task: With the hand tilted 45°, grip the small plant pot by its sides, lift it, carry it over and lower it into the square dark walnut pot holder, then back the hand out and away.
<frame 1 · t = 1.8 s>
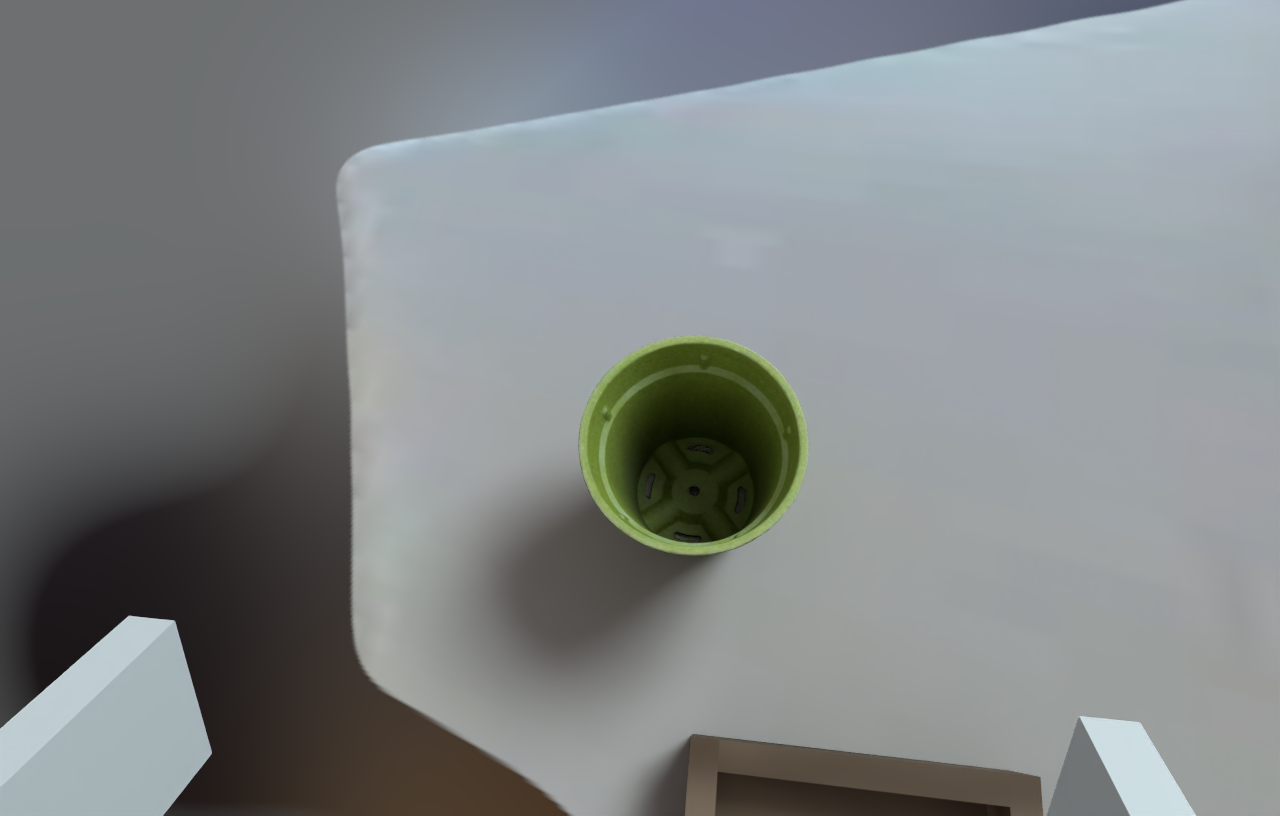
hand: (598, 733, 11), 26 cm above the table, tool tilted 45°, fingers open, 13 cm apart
plant pot: (696, 495, 40), on the table
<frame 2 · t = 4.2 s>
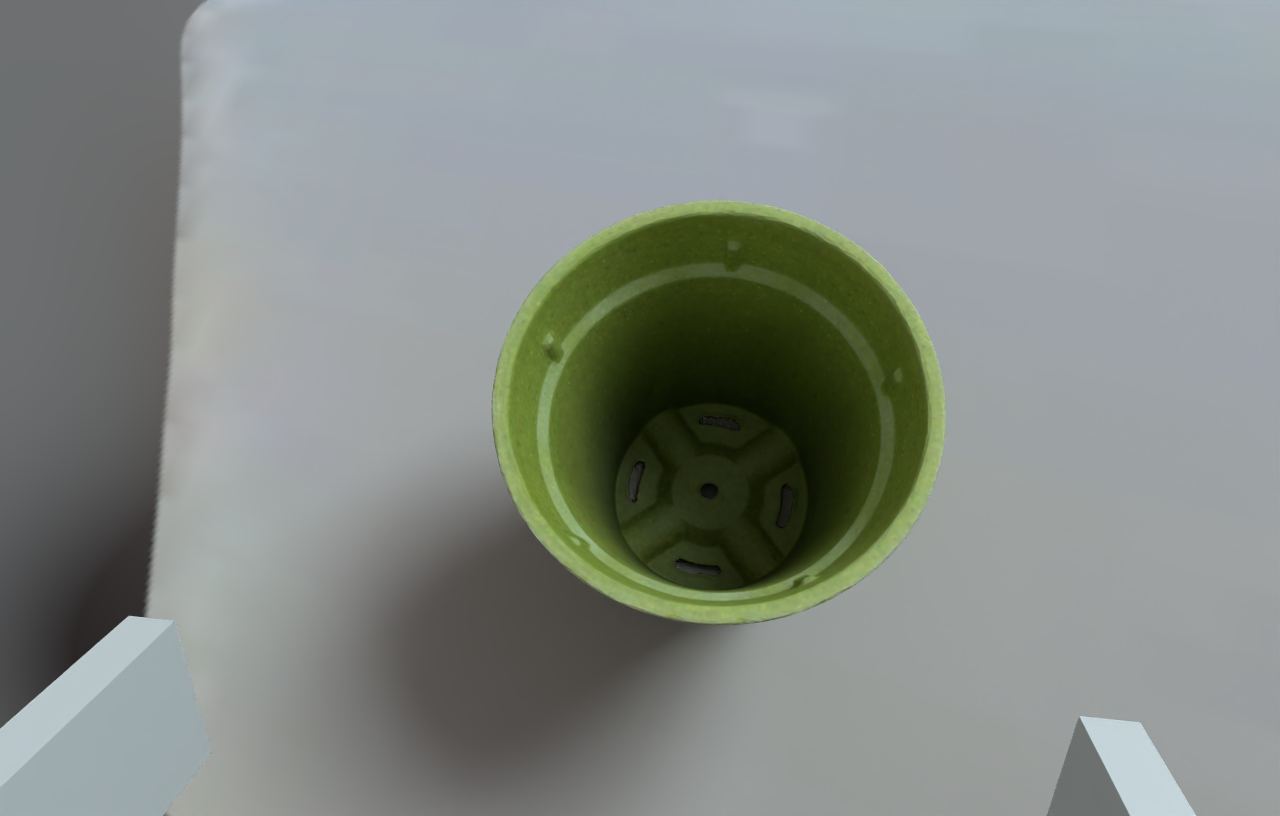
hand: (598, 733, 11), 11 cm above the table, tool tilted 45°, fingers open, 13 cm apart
plant pot: (712, 497, 24), on the table
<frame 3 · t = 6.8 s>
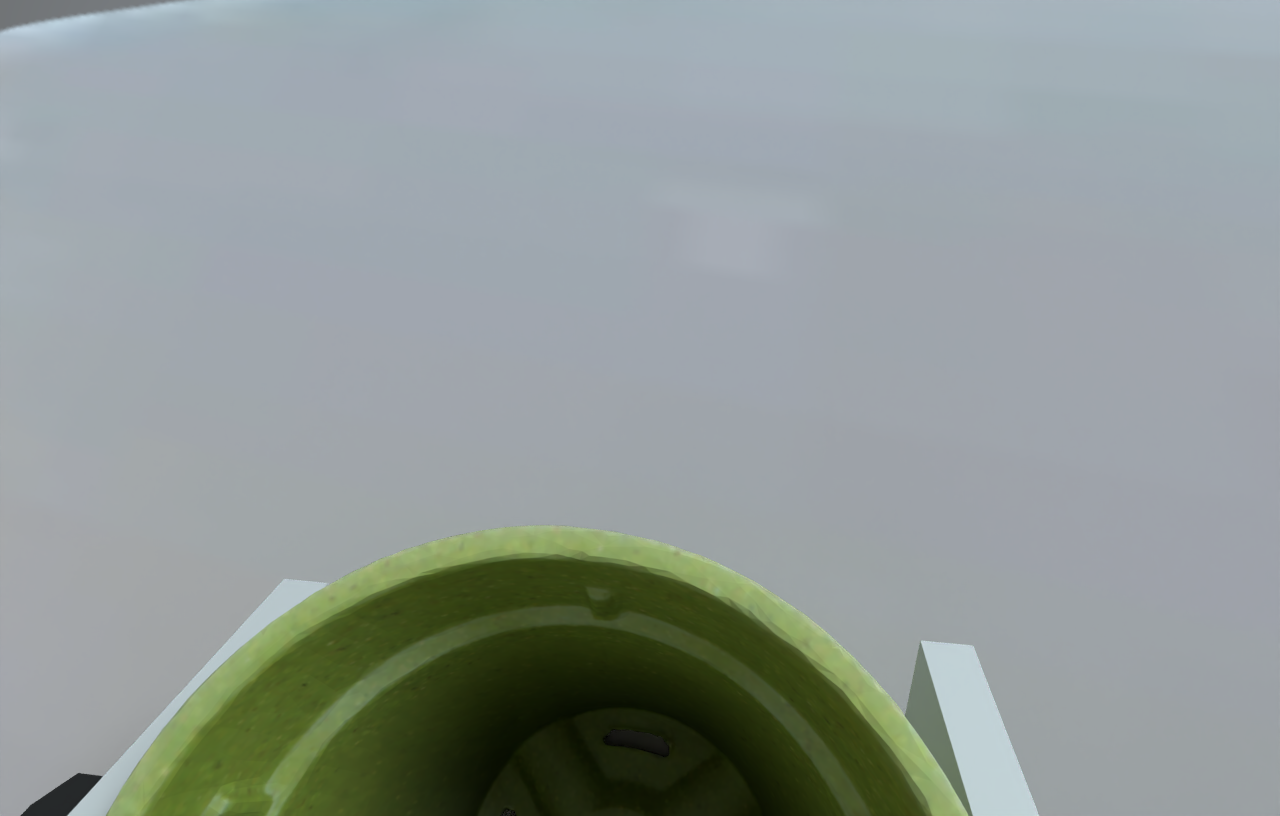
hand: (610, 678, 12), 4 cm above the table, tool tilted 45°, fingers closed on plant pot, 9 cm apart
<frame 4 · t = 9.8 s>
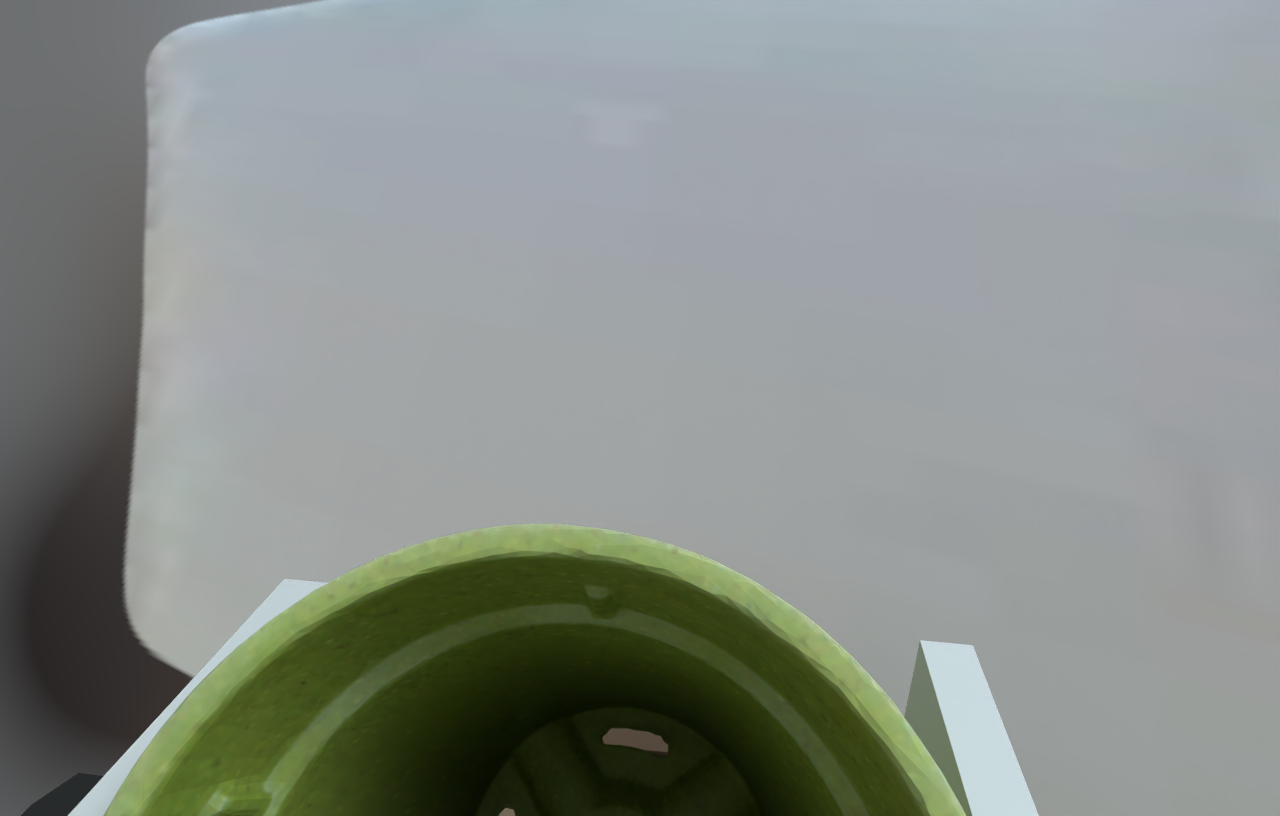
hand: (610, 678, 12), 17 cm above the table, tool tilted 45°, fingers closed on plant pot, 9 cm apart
when the fingers open (7 cm above the table, at t = 13.0 s): plant pot drops 2 cm, resting on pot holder.
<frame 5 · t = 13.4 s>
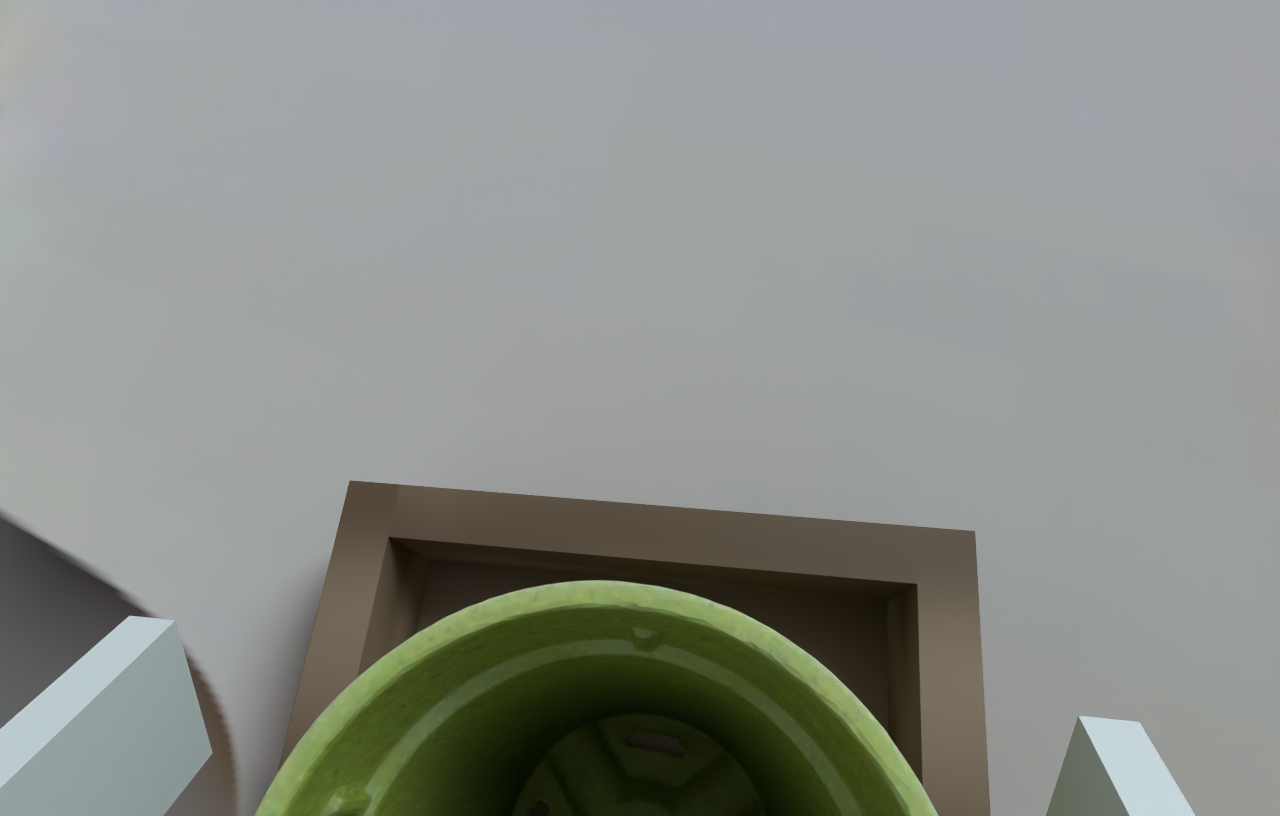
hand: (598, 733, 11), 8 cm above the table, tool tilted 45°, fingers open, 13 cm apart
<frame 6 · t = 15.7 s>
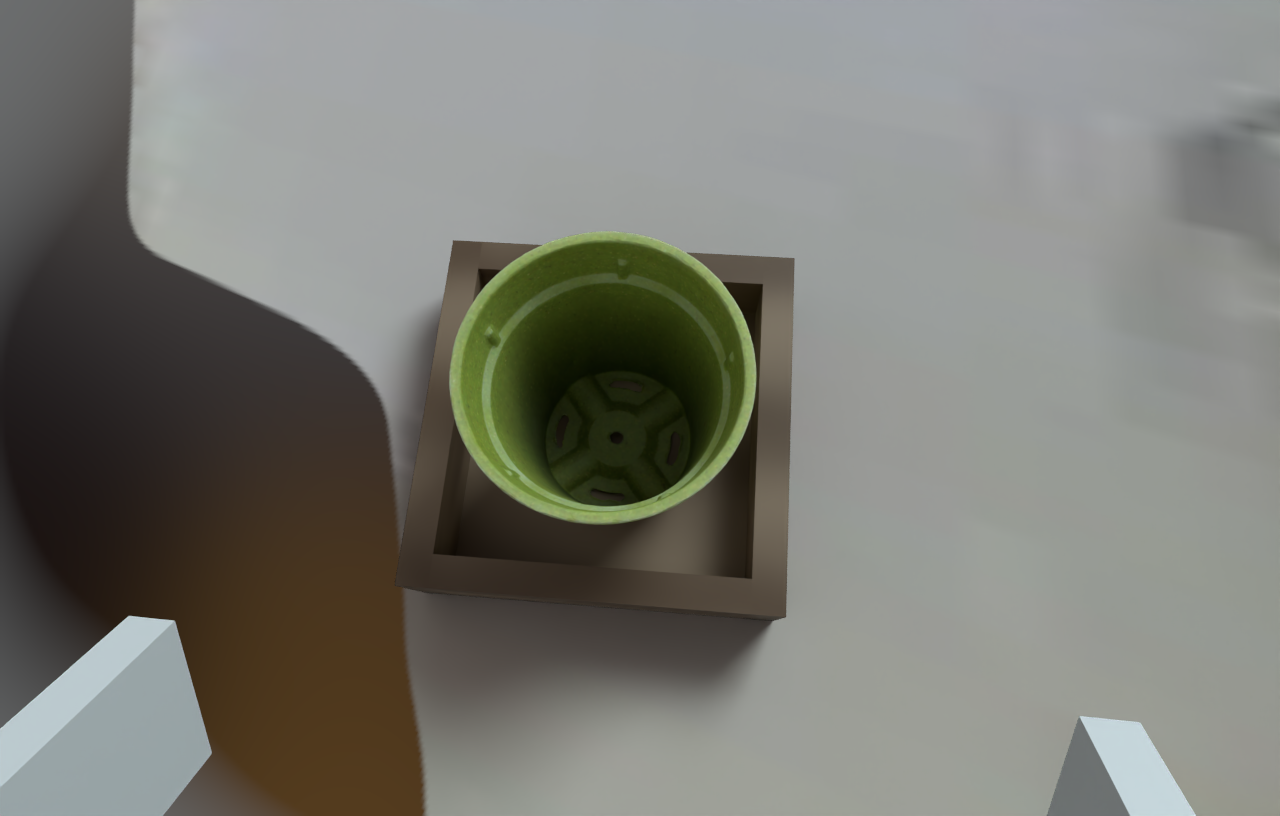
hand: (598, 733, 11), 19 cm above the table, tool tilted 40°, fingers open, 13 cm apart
plant pot: (620, 442, 32), resting on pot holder
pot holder: (612, 437, 32), on the table
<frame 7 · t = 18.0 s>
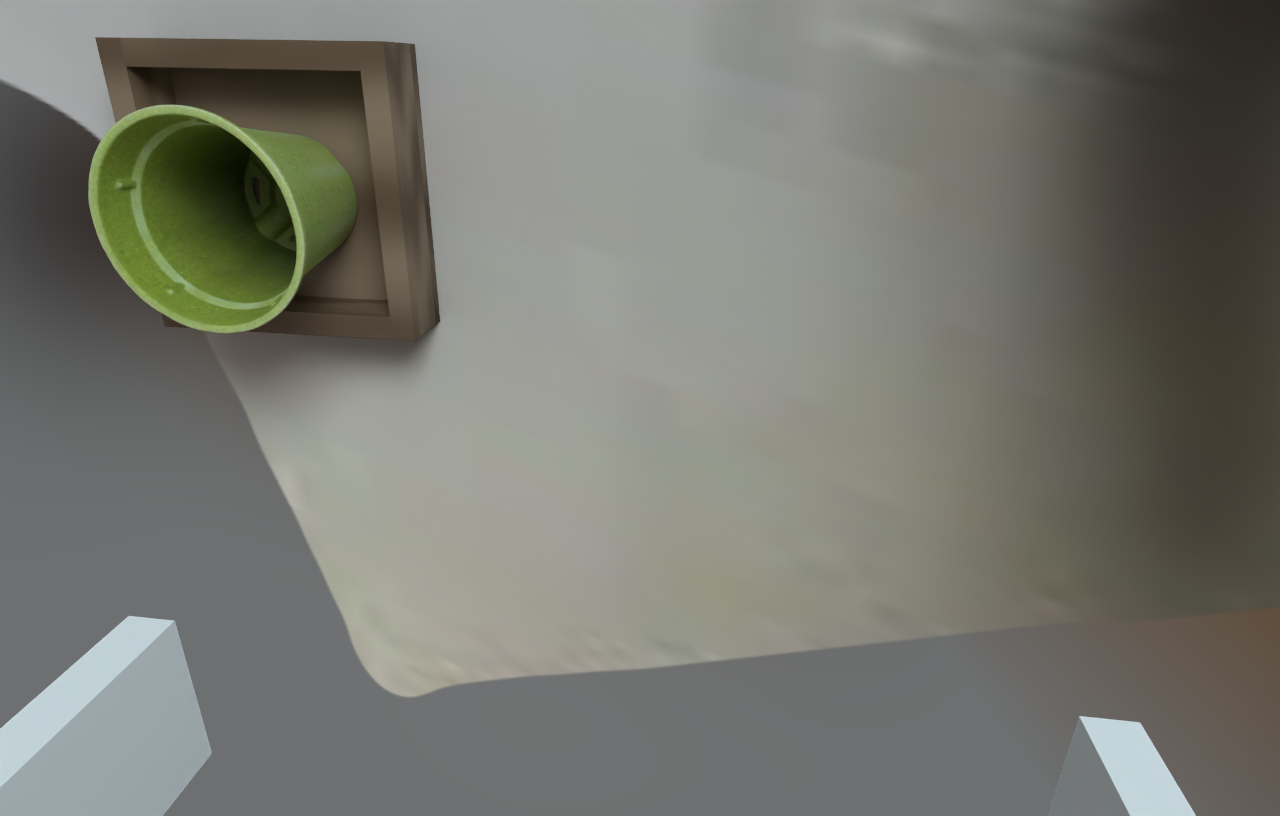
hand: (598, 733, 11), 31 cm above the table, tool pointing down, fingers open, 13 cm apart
plant pot: (306, 195, 40), resting on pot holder
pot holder: (301, 187, 40), on the table
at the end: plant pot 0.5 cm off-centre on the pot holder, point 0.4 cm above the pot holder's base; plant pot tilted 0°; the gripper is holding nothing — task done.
